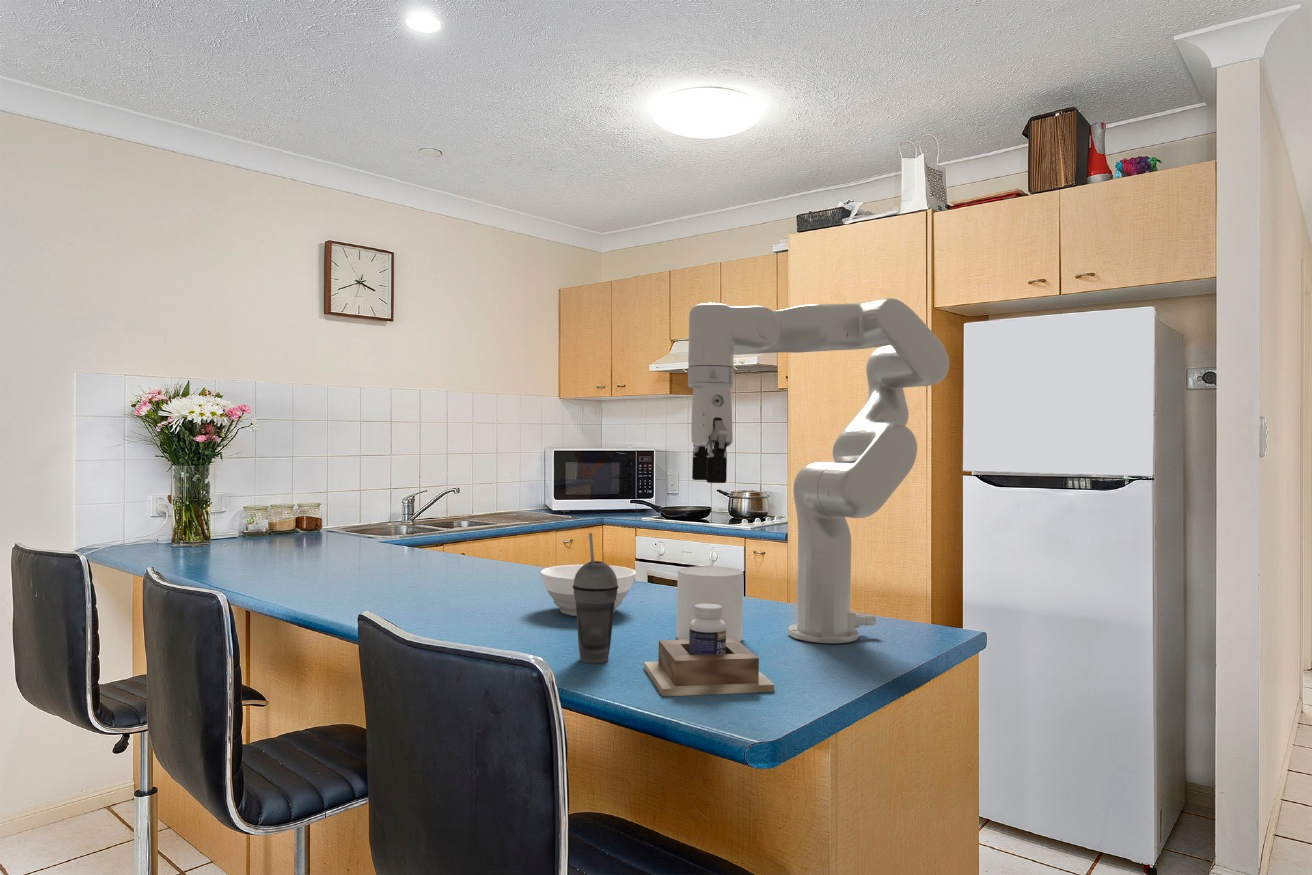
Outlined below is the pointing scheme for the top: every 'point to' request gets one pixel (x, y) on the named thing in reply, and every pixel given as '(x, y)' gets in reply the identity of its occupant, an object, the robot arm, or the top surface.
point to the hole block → (706, 670)
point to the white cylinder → (710, 597)
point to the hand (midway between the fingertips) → (708, 481)
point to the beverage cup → (594, 608)
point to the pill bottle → (707, 631)
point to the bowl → (562, 583)
